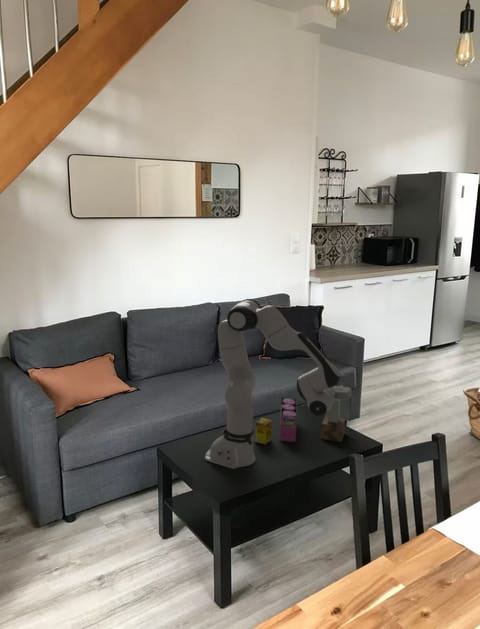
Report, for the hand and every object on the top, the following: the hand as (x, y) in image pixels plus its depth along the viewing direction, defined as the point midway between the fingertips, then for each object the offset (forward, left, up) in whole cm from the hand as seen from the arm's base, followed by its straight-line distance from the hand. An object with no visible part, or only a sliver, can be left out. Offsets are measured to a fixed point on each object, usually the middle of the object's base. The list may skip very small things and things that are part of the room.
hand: (330, 385), depth 231 cm
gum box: (-22, +13, -32) cm, 41 cm away
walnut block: (0, +16, -32) cm, 36 cm away
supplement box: (-30, -3, -32) cm, 44 cm away
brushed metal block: (0, +16, -24) cm, 29 cm away
